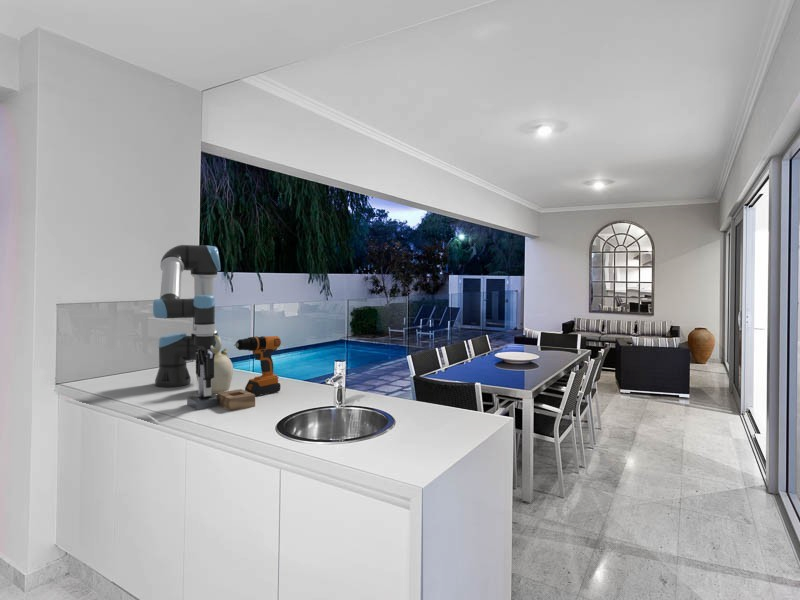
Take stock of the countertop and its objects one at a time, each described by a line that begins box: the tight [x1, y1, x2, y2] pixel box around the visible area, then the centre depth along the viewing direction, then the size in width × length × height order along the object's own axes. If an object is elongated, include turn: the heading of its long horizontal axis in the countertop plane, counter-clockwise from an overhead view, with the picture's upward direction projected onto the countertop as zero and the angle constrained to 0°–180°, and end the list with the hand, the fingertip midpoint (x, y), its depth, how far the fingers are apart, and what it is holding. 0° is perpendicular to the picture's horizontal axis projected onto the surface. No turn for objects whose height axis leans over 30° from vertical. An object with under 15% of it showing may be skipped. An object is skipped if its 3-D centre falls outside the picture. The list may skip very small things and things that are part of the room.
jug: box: [195, 335, 234, 394], centre depth 214 cm, size 15×16×25 cm
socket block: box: [186, 393, 221, 411], centre depth 190 cm, size 10×10×4 cm
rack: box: [216, 388, 256, 412], centre depth 190 cm, size 12×10×5 cm
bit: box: [199, 364, 209, 399], centre depth 190 cm, size 3×3×16 cm
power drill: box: [233, 335, 282, 397], centre depth 210 cm, size 22×7×25 cm, turn 138°
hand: (204, 394), depth 190 cm, fingers open, 4 cm apart
